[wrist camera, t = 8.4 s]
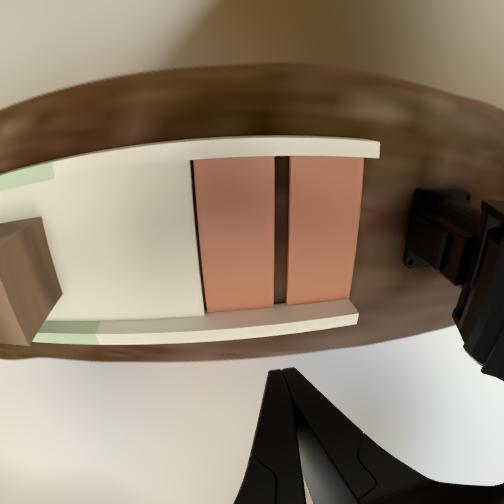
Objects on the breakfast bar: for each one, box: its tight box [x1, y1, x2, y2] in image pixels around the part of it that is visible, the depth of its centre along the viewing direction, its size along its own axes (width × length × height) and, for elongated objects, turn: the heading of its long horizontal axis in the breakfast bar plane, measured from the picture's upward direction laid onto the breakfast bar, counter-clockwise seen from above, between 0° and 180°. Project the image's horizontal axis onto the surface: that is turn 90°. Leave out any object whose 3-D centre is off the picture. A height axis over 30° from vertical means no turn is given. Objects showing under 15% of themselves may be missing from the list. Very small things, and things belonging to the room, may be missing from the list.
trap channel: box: [0, 135, 380, 345], centre depth 18 cm, size 30×13×2 cm, turn 91°
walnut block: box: [0, 216, 63, 346], centre depth 15 cm, size 6×6×6 cm
